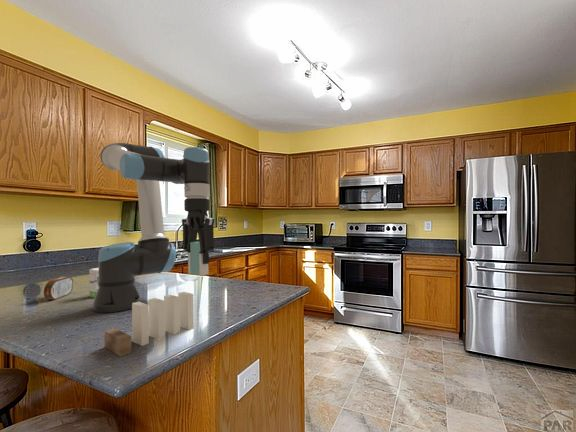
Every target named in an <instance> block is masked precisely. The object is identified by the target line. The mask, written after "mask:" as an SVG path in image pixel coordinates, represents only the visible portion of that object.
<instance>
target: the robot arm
mask: <svg viewBox="0 0 576 432" xmlns="http://www.w3.org/2000/svg"><path fill="white" fill-rule="evenodd" d="M209 156H210V155H209V151H208V150H207V149H205V148H204V147H199V146H196V147H195V146H190V147H186V148H184V150H183V155H182V157H183V158H182V159H175V158H168V157H166V155H165V153H164V151H163V150H161V148H157V147H153V146H150V145H149V146H145V145H139V144H134V143H133V144H131V143H126V142H114V143H110V144H107V145H106V146H104V147H103V148H102V149H101V152H100V160H101V162H102V164H103V165H104V166H105V167H106V168H107V169H109V170H111V171H112V170H113V171H117V172H119V173H120V175H121V177H122V178H124V179H129V180H133V181H136V184H137V185H136V189H137V197H138V198H137V199H138V208H139V210H138V211H139V221H140V233H141V237H140V238H139V240H138V241H137V245H136V244H135V242H133V241H132V242H131V241H130V242H129V241H127V242H120V243H119V242H118V243H115V244H114V243H113V244H109V245H105V246H103V247H101V248H100V249H99V251H98V260H97V262H98V268H99V289H98V292H97V295H96V297H95V298H94V301H93V304H92V307H93V308H92V310H93V312H95V313H115V312H121V311H127V310H130V309H131V310H132V303H135V302H141V297H140V294H139V292H138V291H139V290H138V289H137V286H136V278H135V277H137V276H139V277H140V276H145V275H153V274H161V273H165V272H166V273H167V272H169V271H171V270H172V269H173V267H174V266H175V262H176V258H177V250H176V247H175V244H174V243H172V242H170V239H169V237H168V236H166V235H165V227H164V217H163V215H164V214H163V205H162V197H161V196H162V195H161V187H160V182H165V183H166V182H167V183H173V184H175V185H183V186H184V187H183V189H184V197H185V199H184V208H183V209H184V211H186V212H187V217H186V218H182V219H181V224H182V248H183V249H182V250H183V251H186V253H187V262H188V263H187V265H188V267H187V268H188V269H187V270H188V272H187V273H188V274H190V275H192V274H191V253H190V242H199V243H200V248H201V252H199V270H200V275H203V276H206V275H210V273H209V264H210V263H209V262H210V252H212V251H215V240H214V237H215V236H214V224H215V218H214V217H209V214H208V212H209V211H210V210H211V206H210V205H211V201H210V199H209V198H210V197H211V194H210V193H211V191H210V190H211V189H210V187H211V186H210V157H209ZM197 238H198V241H197ZM204 248H205V249H204Z"/></svg>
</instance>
